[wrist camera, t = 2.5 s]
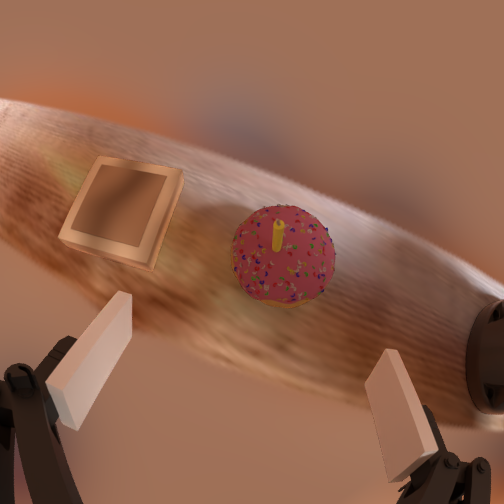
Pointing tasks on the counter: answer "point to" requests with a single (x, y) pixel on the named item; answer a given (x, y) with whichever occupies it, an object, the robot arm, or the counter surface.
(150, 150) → the counter surface
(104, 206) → the square tray
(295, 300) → the cupcake
